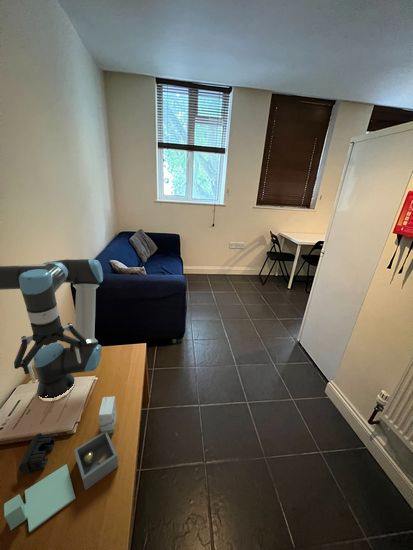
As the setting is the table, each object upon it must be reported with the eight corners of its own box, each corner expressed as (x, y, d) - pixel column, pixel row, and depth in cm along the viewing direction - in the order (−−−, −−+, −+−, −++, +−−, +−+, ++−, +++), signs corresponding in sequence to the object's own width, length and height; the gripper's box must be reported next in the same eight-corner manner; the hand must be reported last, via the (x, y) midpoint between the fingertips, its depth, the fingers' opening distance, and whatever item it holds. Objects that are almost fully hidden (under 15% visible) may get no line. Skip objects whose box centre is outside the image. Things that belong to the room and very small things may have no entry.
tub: (76, 461, 82) (74, 449, 79) (107, 441, 88) (106, 430, 86) (85, 491, 74) (82, 479, 71) (118, 467, 81) (117, 455, 78)
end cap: (35, 445, 86) (31, 433, 83) (56, 442, 87) (53, 430, 84) (21, 476, 77) (16, 464, 74) (44, 472, 78) (40, 460, 75)
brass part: (84, 461, 81) (82, 454, 80) (92, 455, 83) (91, 448, 82) (86, 468, 79) (84, 462, 78) (95, 462, 81) (94, 455, 80)
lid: (9, 503, 70) (3, 489, 67) (67, 466, 80) (63, 453, 77) (12, 547, 62) (4, 533, 59) (75, 500, 72) (72, 486, 69)
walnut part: (99, 466, 80) (98, 461, 79) (106, 458, 83) (105, 453, 81) (104, 471, 79) (103, 466, 78) (111, 463, 81) (111, 458, 80)
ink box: (114, 434, 91) (111, 414, 87) (101, 436, 90) (97, 416, 86) (117, 414, 99) (115, 395, 95) (105, 416, 98) (102, 396, 93)
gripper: (-10, 340, 59) (11, 396, 68) (91, 311, 75) (98, 360, 83) (-9, 325, 64) (10, 379, 73) (85, 302, 80) (92, 348, 88)
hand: (57, 369), depth 78 cm, fingers open, 13 cm apart
